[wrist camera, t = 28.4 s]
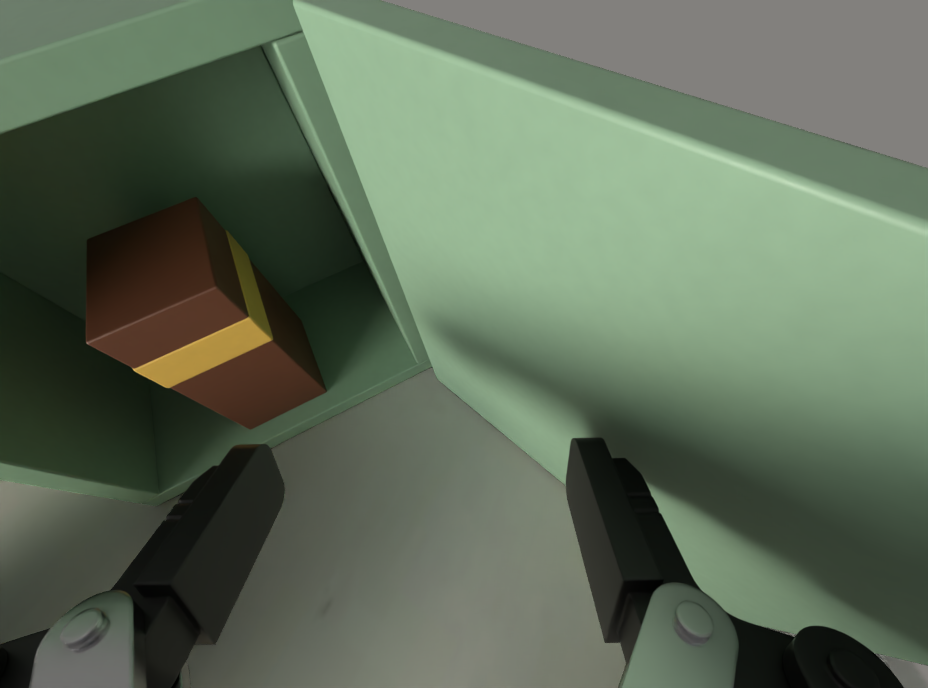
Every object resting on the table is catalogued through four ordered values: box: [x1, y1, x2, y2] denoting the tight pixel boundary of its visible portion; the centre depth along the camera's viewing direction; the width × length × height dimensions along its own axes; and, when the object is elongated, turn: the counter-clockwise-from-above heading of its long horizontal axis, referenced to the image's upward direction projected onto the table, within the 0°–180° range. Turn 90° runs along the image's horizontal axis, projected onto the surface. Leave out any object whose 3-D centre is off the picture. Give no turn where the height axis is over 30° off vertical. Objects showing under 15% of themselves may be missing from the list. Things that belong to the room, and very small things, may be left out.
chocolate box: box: [86, 197, 327, 430], centre depth 17 cm, size 5×4×8 cm
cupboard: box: [0, 0, 432, 506], centre depth 15 cm, size 9×15×16 cm, turn 118°
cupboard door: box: [293, 0, 928, 665], centre depth 11 cm, size 6×15×16 cm, turn 48°
